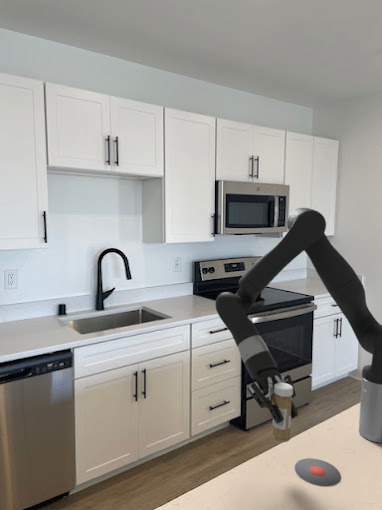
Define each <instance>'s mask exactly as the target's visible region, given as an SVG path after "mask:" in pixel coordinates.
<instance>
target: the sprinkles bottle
mask: <svg viewBox="0 0 382 510" xmlns="http://www.w3.org/2000/svg"><path fill="white" fill-rule="evenodd" d="M292 395H293V387H292V386H291V385H289V384H287V383H276V384H275V385H274V399H275V403H276V404H275V405H277V406H278V408H279V410H280V412H281V414H282V416H283V418H284V420H283V421H282V422H280V423H277V422H276V421H275V420H274V419H273V418H272V434H271V437H272V440H273V439H274V440H275V441H277V442H280V443H287V442H289V441H290V440H291V427H292V425H291V424H292V418H291V401H292V402H293V399H292Z"/></svg>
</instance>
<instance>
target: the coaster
mask: <svg viewBox="0 0 382 510" xmlns="http://www.w3.org/2000/svg"><path fill="white" fill-rule="evenodd" d="M294 471H295V472H296V474H297V475H298V476H299V477H300V478H301V479H303V480H304V481H306V482H307V483H310V484H313V485H314V486H315V485H316V486H320V487H330V486H331V487H332V486H335V485H337V484H338V483H340V481H341V478H342V475H341V472H340V470H339V469H338V468H337V467H335V466H334V465H332V464H331V463H330V462H327V461H325V460H322V459H319V458H311V457H310V458H302V459H300V460H298V461H297V462H296V463H295V464H294Z"/></svg>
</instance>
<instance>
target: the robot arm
mask: <svg viewBox="0 0 382 510" xmlns="http://www.w3.org/2000/svg"><path fill="white" fill-rule="evenodd" d="M286 226H287V230H288V231H287V232H286V234H285V235H284V237H283V238H282V239H281V240H280V241H279V242H278V243H277V244H276V245H274V247H272V248H271V249H270V250H269V251H267V253H265V254H264V255H262V256H261V257H260V258H259V259H257V261H255V262H254V263H253V264H252V265H251V266H250V267H249V268H248V269H247V271H246V272H245V273H244V274H242V276H241V277H240V279H239V280H238V286H239V289H238V290H237V291H236V292H235V294H234V293H232V292H229V291H225V292H221V293H220V294H218V295H217V297H216V299H215V304H214V305H215V310H216V312H217V314H218V316H219V318H220V320H221V321H222V323H223V325H225V326H226V328H227V330H228V332H230V334H231V336H232V338H233V340H234V343H235V344H236V347H237V349H238V353H239V355H240V357H241V359H242V361H243V363H244V366H245V368H246V370H247V371H248V375H249V376H250V378H251V379H253V382H252V383H251V384H250V385H249V386H248V387H247V388H246V389H247V391H248V393H249V395H251V396H252V398H253V399H254V400H255V402H256V403H257V404H258V406H259V408H261V409H264V408H265V409H268V410H269V412H270V415H271V417H272V420H273V419H274V420H275V421H276V422H277V423H280V422H282V421H283V420H284V418H283V416H282V414H281V412H280V410H279V408H278V406H277V405H275V404H276V403H275V399H274V385H275V384H276V383H287V384H289V385H291V386H292V387H293V395H292V401H291V420H292V419H295V418H297V417H298V415H299V413H298V409H297V408H296V406H295V404H294V402H293V399H294V398H295V397H296V395H297V394H296V391H295V388H294V387H295V386H294V385H293V380H292V376H291V375H290V374H286V375H281V373H280V371H278V369H277V366H278V365H277V362H276V361H275V359H274V357H273V356H272V353H271V352H270V350H269V348H268V346H267V344H266V342H265V341H264V339H263V338H262V337H261V335H260V333H259V330H258V328H257V327H256V324H254V322H253V321H252V320H251V319H249V318H248V317H247V314H248V313H249V311H250V310H251V308H252V306H253V305H254V304H255V302H256V300H257V298H258V296H259V295H260V294H261V293H262V292H263V291H264V290H265V289H266V288H267V286H268V285H269V284H271V282H272V281H273V280H274V279H275V278H276V276H278V275H279V274H280V273H281V272H282V271H283V270H284V269H285V267H287V266H288V265H289V264H290V263H291V262H292V261H294V260H295V258H297V257H298V256H299V255H300V254H302V253H303V252H305V254H306V255H307V256H308V258H309V260H310V262H311V263H312V266H313V267H314V269H315V272H316V273H317V275H318V278H320V281H321V283H322V284H323V285H324V288H325V289H326V291H327V292H328V293H329V295H330V296H331V299H333V301H334V302H335V304H336V305H337V307H338V308H339V309H340V310H339V311H341V313H342V314H343V316H344V317H345V318H346V320H347V321H348V323H349V325H350V327H351V329H352V331H353V334H354V336H355V338H356V340H357V341H358V344H359V345H360V347H361V348H362V349H363V350H364V351H365V352H367V353H369V354H370V355H372V357H371V364H366V365H364V366H363V367H362V371H361V385H360V386H361V387H360V388H361V389H360V402H359V403H360V405H359V419H358V420H359V421H358V425H359V426H358V432H359V435H360V436H361V437H363V438H365V439H366V440H369V441H371V442H374V443H379V444H382V324H381V323H380V322H379V321H377V319H376V318H375V317H374V315H373V314H372V312H371V311H370V310H369V307H368V305H367V300H366V291H365V288H364V287H365V286H364V285H363V283H362V281H361V280H360V278H359V276H358V275H357V273H356V271H355V270H354V268H353V267H352V266H351V265H350V263H349V262H348V261H347V259H345V257H343V256H342V254H340V252H339V251H338V250H337V249H336V248H335V247H334V246H333V245H332V243H331V241H330V240H329V238H328V237H327V235H326V233H325V232H326V228H327V221H326V217H325V216H324V215H323V214H322V213H321V212H319V211H318V210H315V209H312V208H309V207H298V208H295V209H294V210H292V211H291V212H290V213H289V215H288V217H287V221H286Z"/></svg>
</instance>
